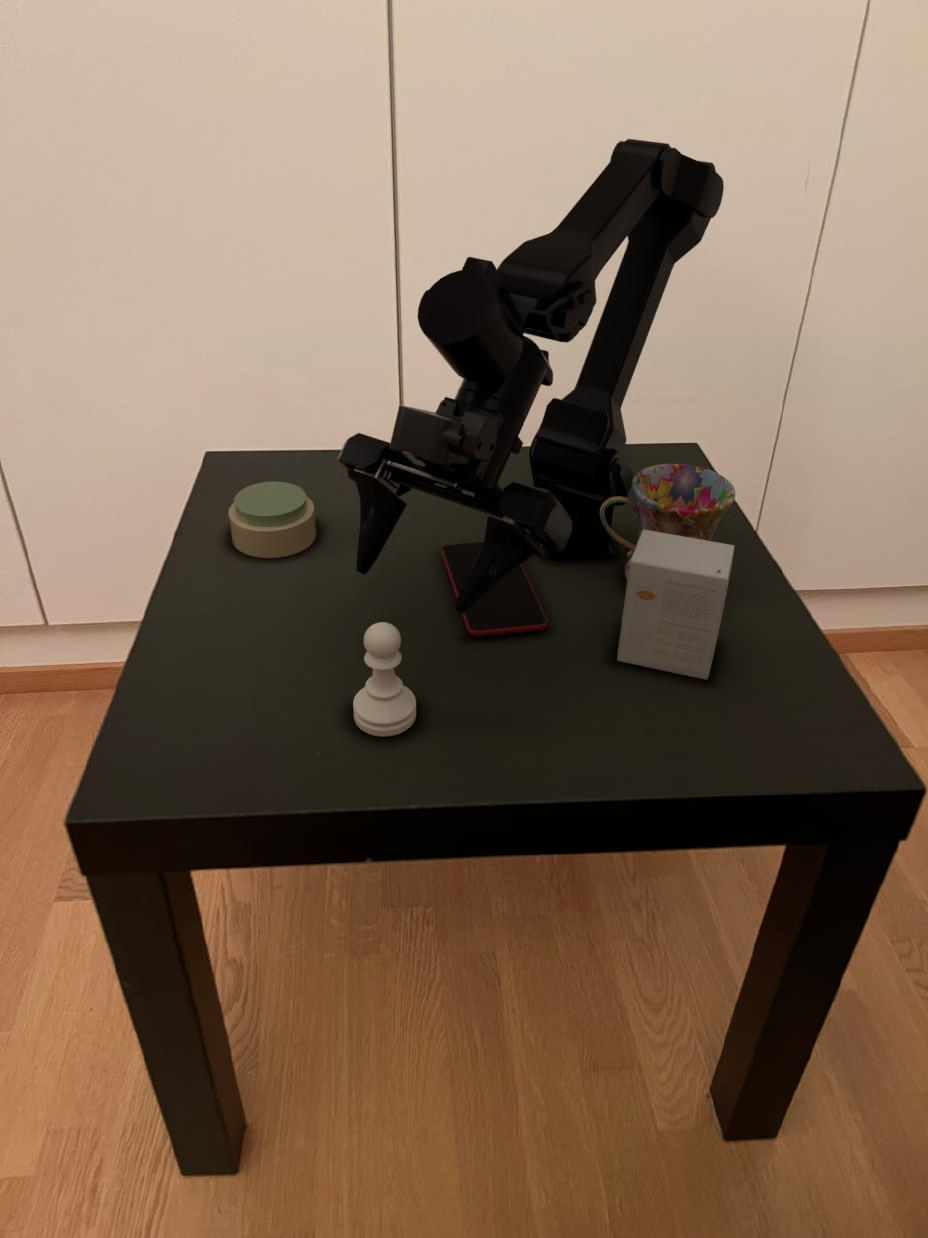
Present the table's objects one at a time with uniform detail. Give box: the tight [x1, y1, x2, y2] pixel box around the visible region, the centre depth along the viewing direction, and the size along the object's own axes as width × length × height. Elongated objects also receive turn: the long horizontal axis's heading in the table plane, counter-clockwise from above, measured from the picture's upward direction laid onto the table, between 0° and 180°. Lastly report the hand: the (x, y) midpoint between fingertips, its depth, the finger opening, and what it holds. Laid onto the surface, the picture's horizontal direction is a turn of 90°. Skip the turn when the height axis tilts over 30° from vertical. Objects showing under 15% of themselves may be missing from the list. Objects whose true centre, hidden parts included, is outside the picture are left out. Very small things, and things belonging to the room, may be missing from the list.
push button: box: [228, 481, 317, 559], centre depth 97 cm, size 9×9×4 cm
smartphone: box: [440, 540, 548, 638], centre depth 91 cm, size 7×1×15 cm
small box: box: [616, 530, 735, 681], centre depth 80 cm, size 8×6×10 cm
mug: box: [600, 463, 736, 581], centre depth 90 cm, size 12×9×11 cm
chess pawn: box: [352, 621, 417, 738], centre depth 73 cm, size 5×5×9 cm
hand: (408, 591), depth 72 cm, fingers open, 9 cm apart
